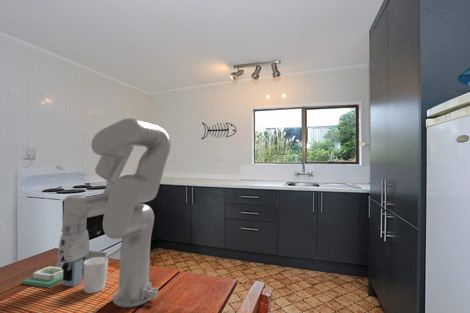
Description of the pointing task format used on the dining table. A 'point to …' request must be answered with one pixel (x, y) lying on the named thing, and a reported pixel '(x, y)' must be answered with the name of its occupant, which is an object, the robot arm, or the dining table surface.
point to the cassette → (94, 255)
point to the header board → (46, 277)
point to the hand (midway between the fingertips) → (72, 277)
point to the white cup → (95, 274)
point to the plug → (75, 273)
